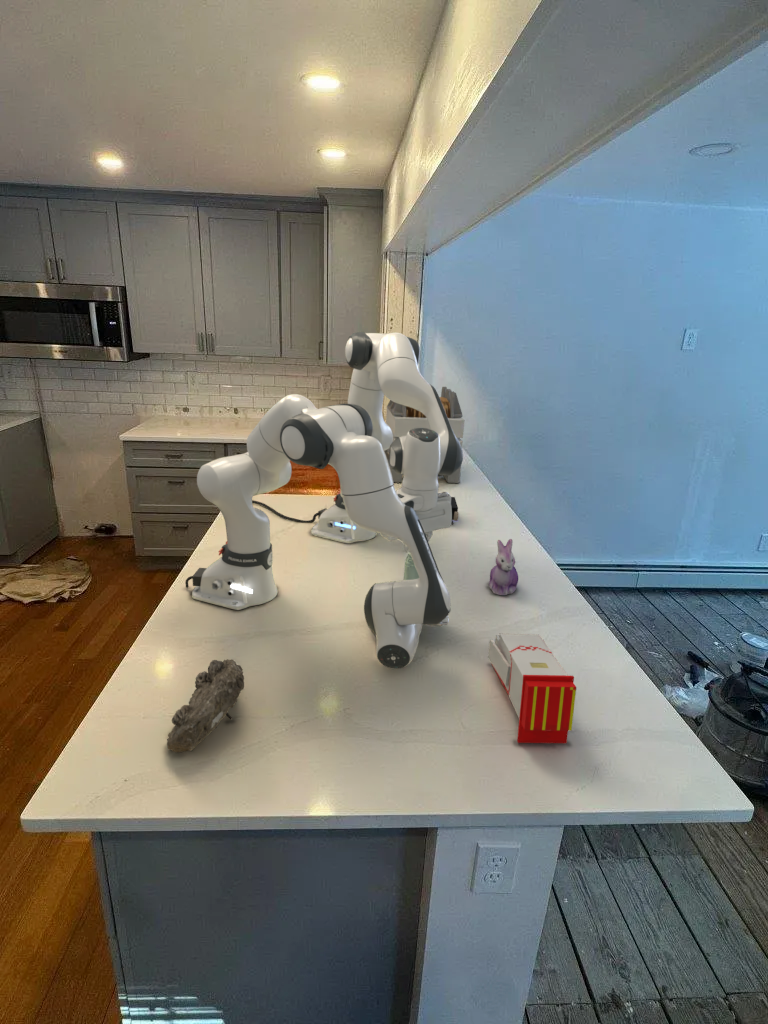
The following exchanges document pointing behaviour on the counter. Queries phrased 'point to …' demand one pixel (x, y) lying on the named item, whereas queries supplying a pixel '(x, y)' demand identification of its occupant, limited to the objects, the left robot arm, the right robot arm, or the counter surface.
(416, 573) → the bottle
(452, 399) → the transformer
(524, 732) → the toy
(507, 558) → the figurine
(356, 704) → the counter surface
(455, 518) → the figurine character
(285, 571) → the counter surface
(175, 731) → the fossil
